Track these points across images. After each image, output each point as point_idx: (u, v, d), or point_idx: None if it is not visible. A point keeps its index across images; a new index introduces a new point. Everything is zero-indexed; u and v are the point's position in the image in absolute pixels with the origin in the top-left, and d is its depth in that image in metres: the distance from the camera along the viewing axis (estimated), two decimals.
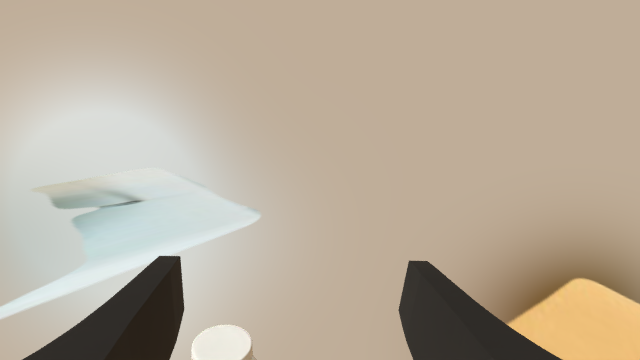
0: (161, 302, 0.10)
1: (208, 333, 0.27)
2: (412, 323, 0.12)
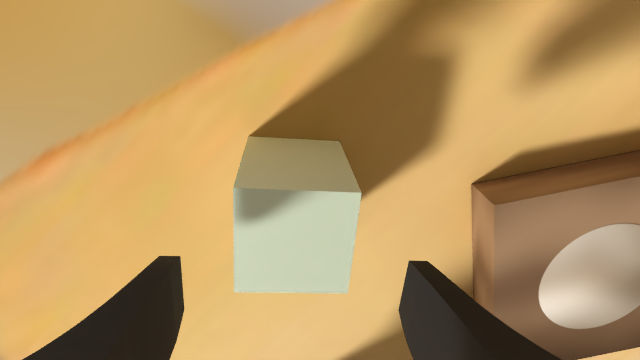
0: (161, 302, 0.10)
1: None
2: (412, 323, 0.12)
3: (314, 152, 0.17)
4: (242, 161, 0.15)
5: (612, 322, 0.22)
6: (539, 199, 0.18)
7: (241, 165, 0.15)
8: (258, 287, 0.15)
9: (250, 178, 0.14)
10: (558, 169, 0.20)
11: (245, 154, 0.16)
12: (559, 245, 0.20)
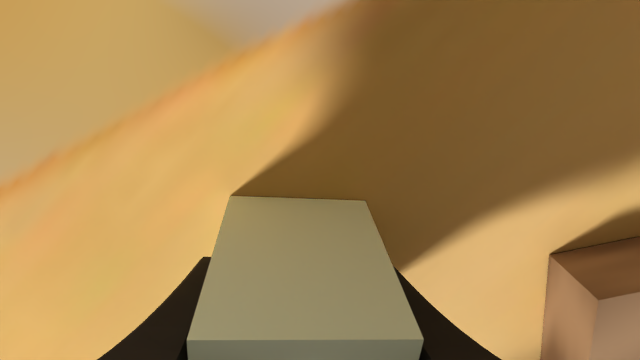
0: None
1: None
2: None
3: (330, 229, 0.11)
4: (213, 258, 0.09)
5: None
6: None
7: (210, 270, 0.09)
8: None
9: (222, 308, 0.08)
10: None
11: (220, 240, 0.10)
12: None
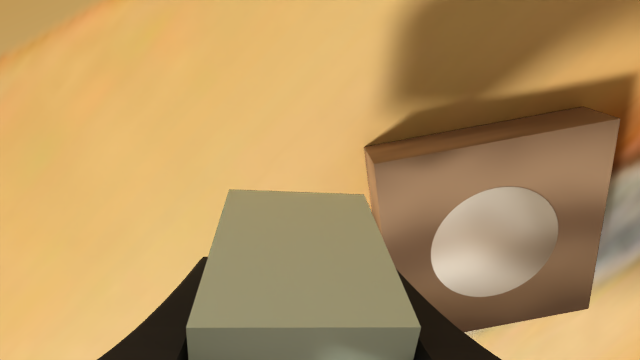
0: None
1: None
2: None
3: (328, 222, 0.11)
4: (212, 250, 0.09)
5: (511, 291, 0.22)
6: (419, 159, 0.18)
7: (209, 260, 0.09)
8: None
9: (221, 297, 0.08)
10: (450, 133, 0.20)
11: (220, 232, 0.10)
12: (446, 208, 0.19)
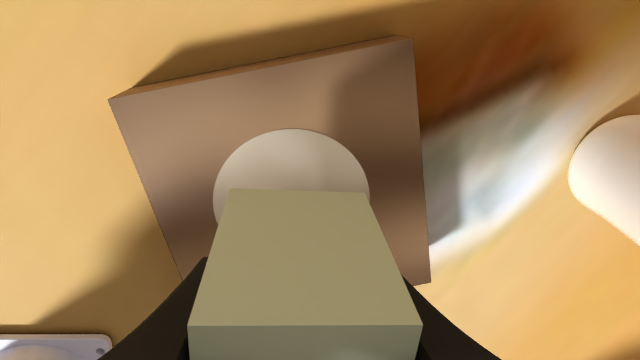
0: None
1: None
2: None
3: (329, 220, 0.11)
4: (213, 248, 0.09)
5: None
6: (165, 93, 0.15)
7: (210, 258, 0.09)
8: None
9: (222, 295, 0.08)
10: (231, 68, 0.17)
11: (220, 231, 0.10)
12: (218, 157, 0.16)
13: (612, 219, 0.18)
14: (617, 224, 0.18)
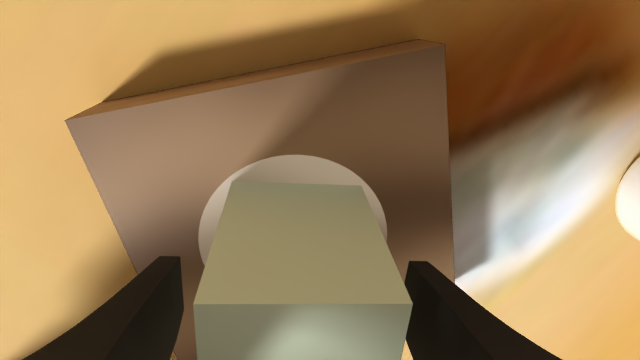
0: (161, 302, 0.10)
1: None
2: (412, 323, 0.12)
3: (327, 210, 0.12)
4: (216, 236, 0.10)
5: None
6: (136, 112, 0.12)
7: (214, 245, 0.09)
8: None
9: (226, 277, 0.08)
10: (221, 79, 0.14)
11: (223, 220, 0.11)
12: (204, 188, 0.13)
13: None
14: None
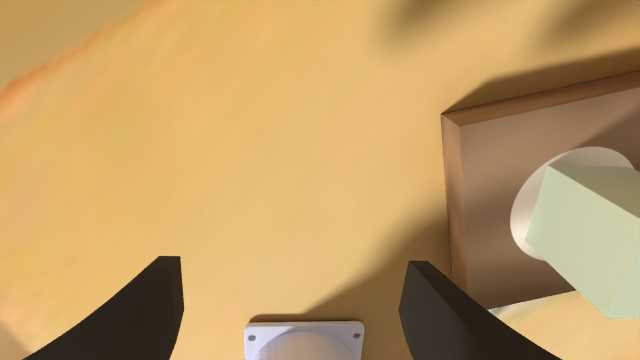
0: (161, 302, 0.10)
1: None
2: (412, 323, 0.12)
3: (634, 181, 0.18)
4: (600, 194, 0.16)
5: None
6: (504, 120, 0.18)
7: (608, 199, 0.16)
8: (629, 313, 0.16)
9: None
10: (527, 96, 0.20)
11: (587, 187, 0.17)
12: (528, 170, 0.20)
13: None
14: None
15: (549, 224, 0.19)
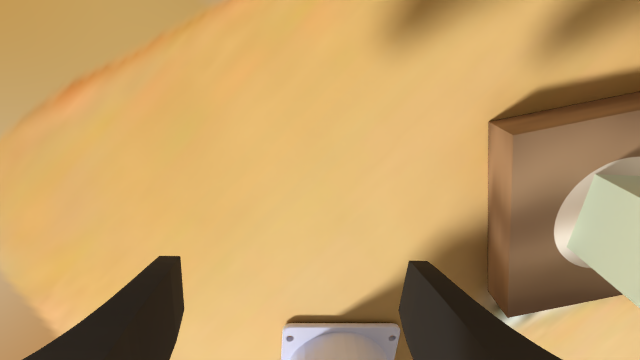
0: (161, 302, 0.10)
1: None
2: (412, 323, 0.12)
3: None
4: None
5: None
6: (556, 130, 0.19)
7: None
8: None
9: None
10: (574, 106, 0.21)
11: None
12: (575, 179, 0.20)
13: None
14: None
15: (595, 232, 0.20)
